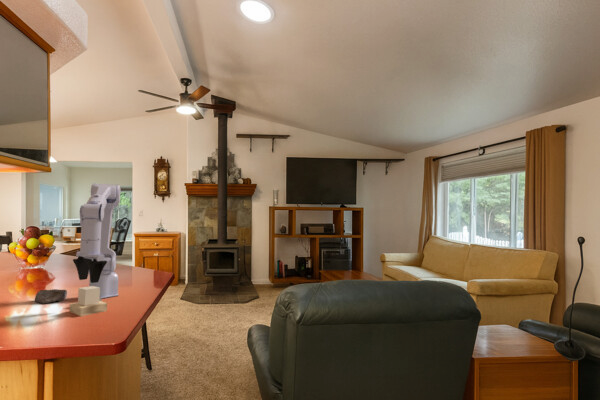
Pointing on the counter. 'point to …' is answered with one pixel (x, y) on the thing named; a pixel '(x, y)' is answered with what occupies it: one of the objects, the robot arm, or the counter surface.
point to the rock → (50, 296)
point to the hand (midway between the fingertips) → (88, 281)
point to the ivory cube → (88, 295)
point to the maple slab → (87, 308)
